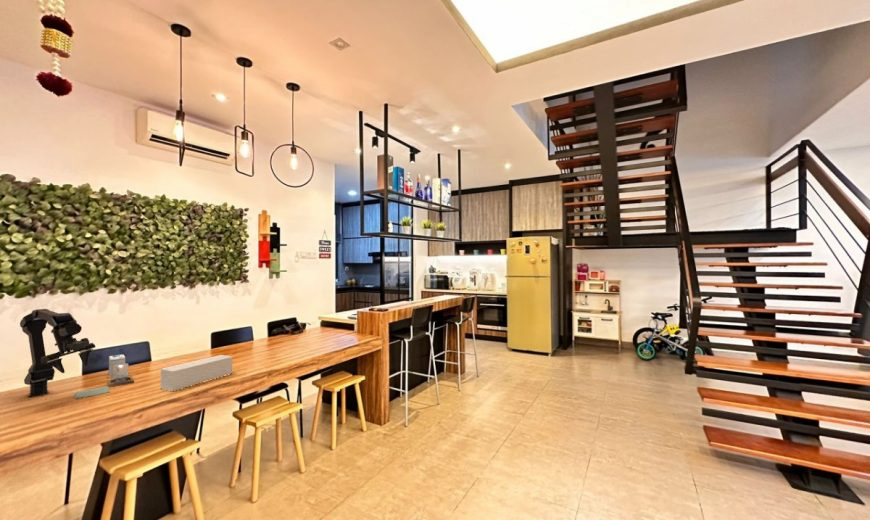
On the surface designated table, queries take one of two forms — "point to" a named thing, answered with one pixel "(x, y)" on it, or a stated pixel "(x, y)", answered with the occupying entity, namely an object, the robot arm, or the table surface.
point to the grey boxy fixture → (115, 363)
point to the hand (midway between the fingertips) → (75, 369)
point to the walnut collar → (120, 382)
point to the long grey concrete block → (195, 372)
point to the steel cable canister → (120, 373)
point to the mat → (91, 392)
